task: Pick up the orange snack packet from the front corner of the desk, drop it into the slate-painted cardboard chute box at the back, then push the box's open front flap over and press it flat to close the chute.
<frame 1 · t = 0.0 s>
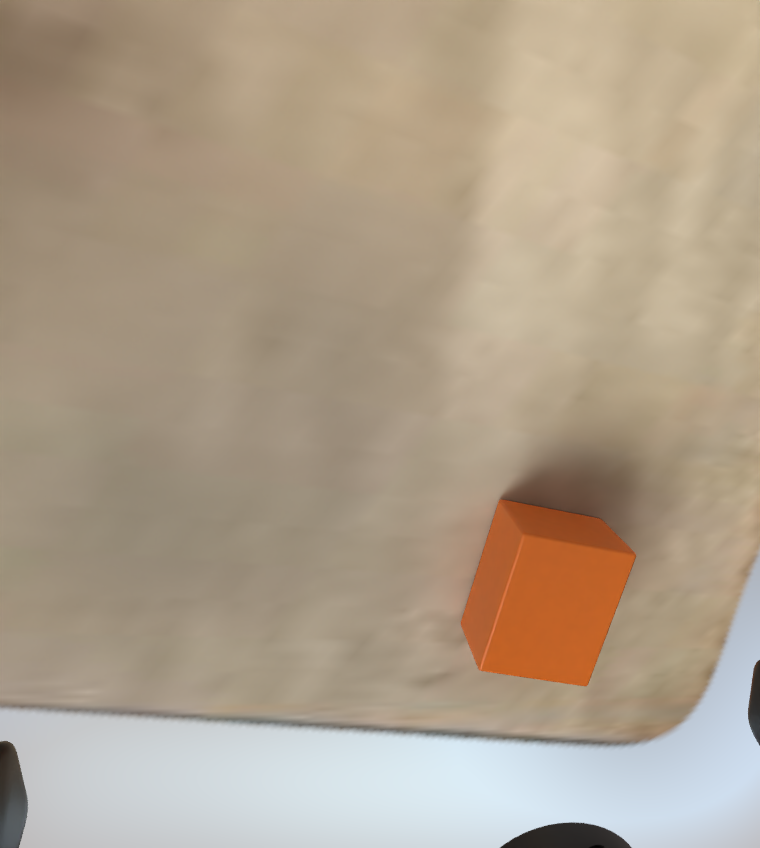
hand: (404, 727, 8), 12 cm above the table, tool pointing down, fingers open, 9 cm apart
packet: (529, 571, 22), on the table
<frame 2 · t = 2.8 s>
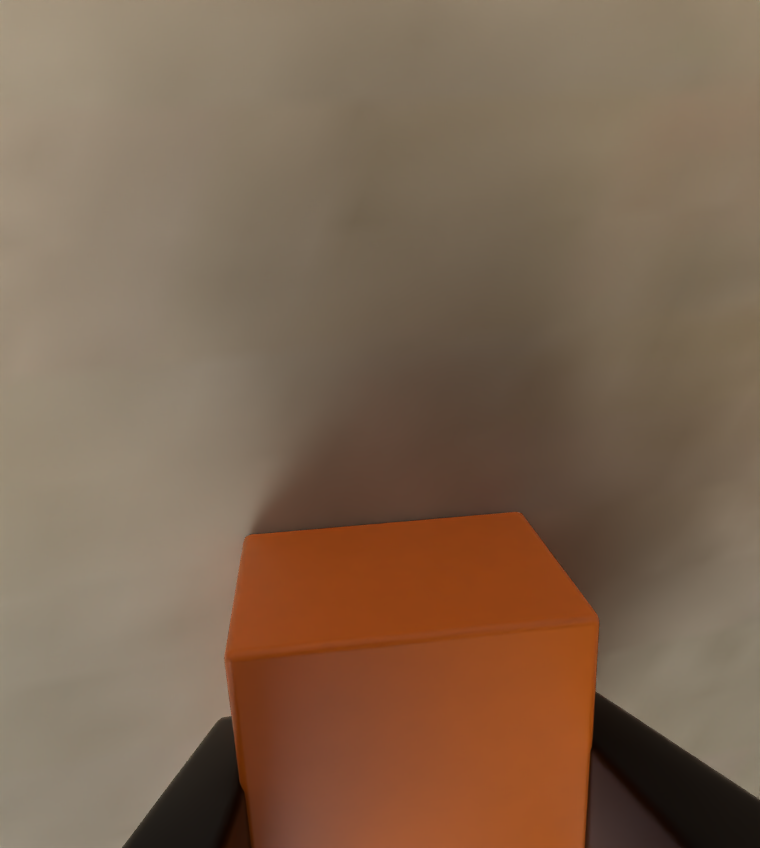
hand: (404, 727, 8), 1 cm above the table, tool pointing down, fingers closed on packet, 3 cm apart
packet: (391, 673, 9), on the table, touching gripper
when the fingers open (13 cm above the table, at t = 6.8 s): packet drops 9 cm and tips over, resting on chute box.
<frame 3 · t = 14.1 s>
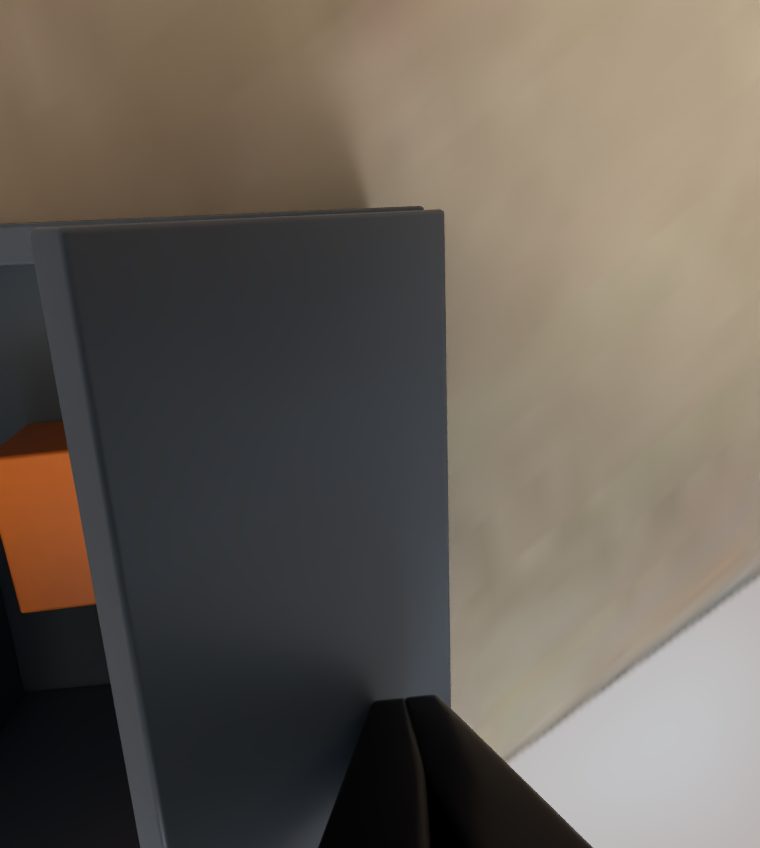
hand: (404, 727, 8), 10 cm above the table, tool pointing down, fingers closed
packet: (113, 527, 14), point 3 cm above the table, tilted 180°, touching chute box
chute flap: (334, 755, 8), point 10 cm above the table, hinge at 49.5°, touching gripper
chute box: (179, 471, 17), on the table
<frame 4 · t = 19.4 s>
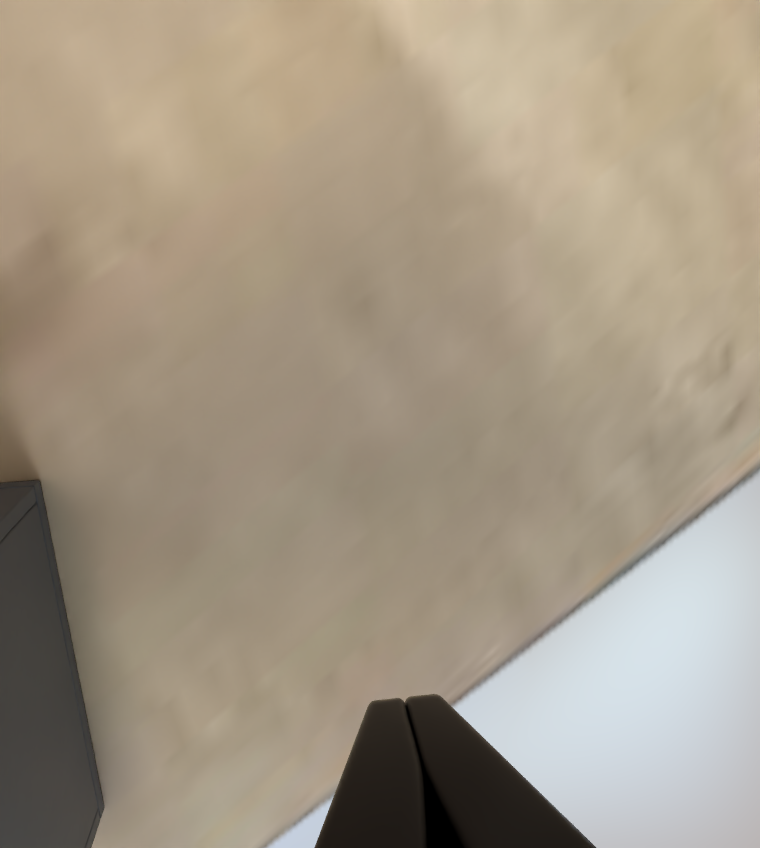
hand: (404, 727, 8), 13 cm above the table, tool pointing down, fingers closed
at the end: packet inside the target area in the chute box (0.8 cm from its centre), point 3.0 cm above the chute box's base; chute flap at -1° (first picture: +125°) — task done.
